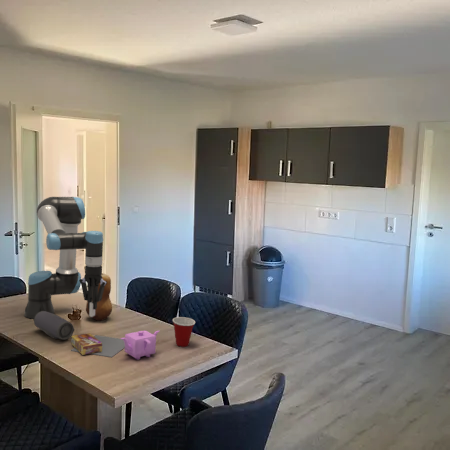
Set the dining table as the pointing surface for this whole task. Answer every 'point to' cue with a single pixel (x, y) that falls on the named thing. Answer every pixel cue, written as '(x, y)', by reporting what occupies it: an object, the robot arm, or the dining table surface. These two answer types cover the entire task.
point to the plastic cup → (183, 330)
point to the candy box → (86, 344)
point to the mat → (108, 346)
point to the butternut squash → (103, 301)
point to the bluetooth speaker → (53, 325)
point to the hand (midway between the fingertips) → (92, 315)
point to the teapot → (140, 343)
